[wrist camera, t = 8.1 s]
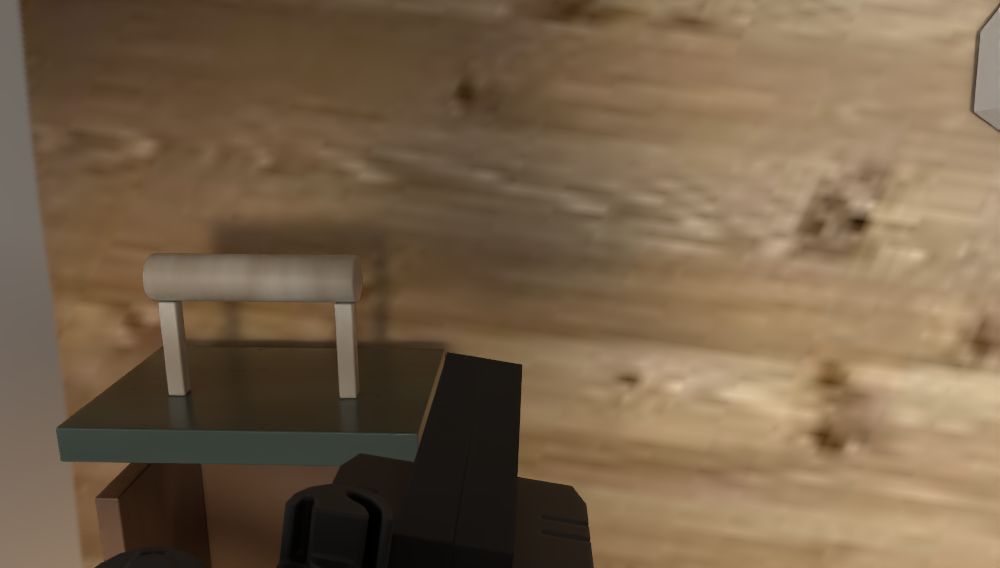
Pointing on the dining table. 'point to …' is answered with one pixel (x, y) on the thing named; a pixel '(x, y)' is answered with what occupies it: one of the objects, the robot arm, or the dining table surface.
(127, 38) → the dining table surface
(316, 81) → the dining table surface
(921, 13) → the dining table surface
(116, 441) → the drawer
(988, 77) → the flask
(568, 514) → the robot arm
